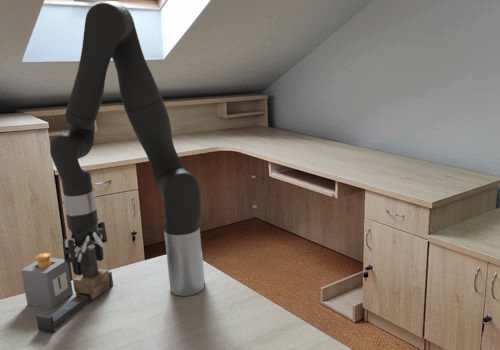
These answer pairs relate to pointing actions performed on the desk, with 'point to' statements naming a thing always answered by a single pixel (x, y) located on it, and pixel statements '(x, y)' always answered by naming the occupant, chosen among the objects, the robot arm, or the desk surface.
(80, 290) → the carriage
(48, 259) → the button
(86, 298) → the rail
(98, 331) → the desk surface
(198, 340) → the desk surface
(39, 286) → the button housing
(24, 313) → the desk surface
